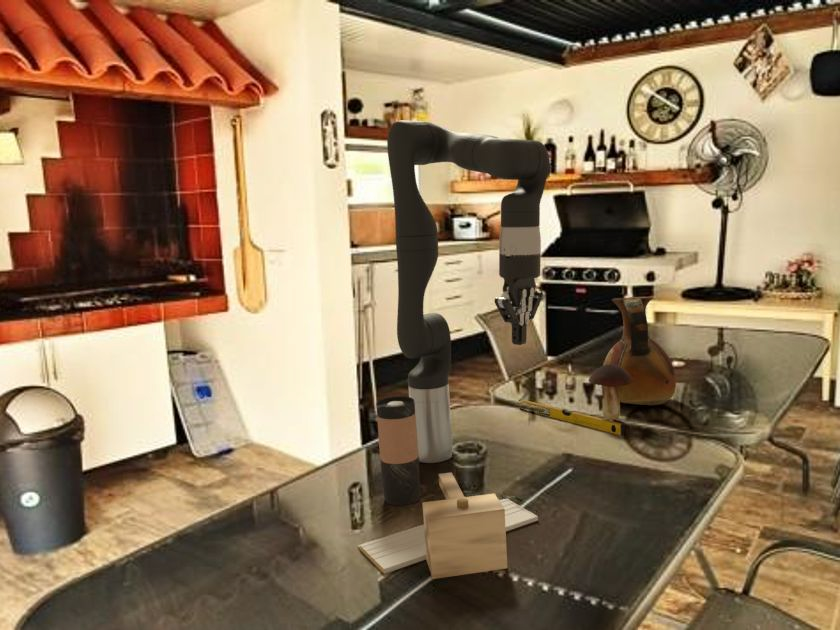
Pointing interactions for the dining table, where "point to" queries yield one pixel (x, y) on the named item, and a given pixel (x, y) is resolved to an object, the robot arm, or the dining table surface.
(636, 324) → the ceramic pitcher
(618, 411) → the decorative mushroom
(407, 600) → the dining table surface
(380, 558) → the baseboard
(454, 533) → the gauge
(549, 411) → the spirit level
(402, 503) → the travel mug
